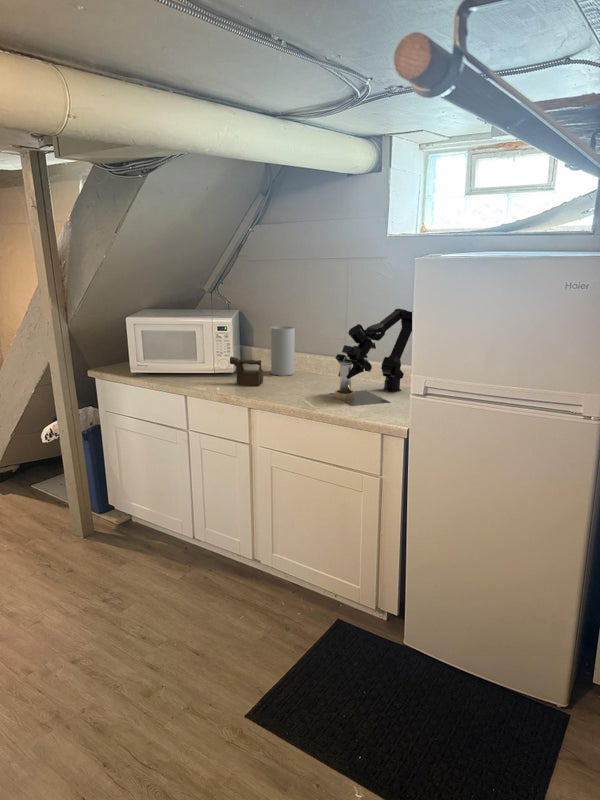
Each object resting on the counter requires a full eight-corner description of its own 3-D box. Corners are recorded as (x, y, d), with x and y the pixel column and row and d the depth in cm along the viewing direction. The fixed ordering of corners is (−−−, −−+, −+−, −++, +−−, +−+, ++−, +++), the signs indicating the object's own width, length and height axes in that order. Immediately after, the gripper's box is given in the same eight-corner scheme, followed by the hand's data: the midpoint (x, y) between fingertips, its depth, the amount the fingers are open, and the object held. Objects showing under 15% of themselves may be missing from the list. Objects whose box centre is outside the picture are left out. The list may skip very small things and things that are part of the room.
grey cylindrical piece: (350, 389, 248) (350, 360, 245) (351, 392, 243) (352, 363, 240) (338, 389, 248) (339, 360, 245) (339, 392, 243) (340, 363, 240)
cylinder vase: (297, 372, 302) (298, 327, 296) (288, 377, 291) (288, 329, 285) (277, 370, 307) (277, 325, 301) (267, 375, 296) (267, 328, 290)
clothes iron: (234, 381, 280) (233, 355, 277) (264, 383, 277) (264, 356, 273) (228, 384, 273) (228, 357, 269) (259, 386, 269) (259, 359, 266)
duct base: (365, 392, 260) (366, 385, 259) (390, 404, 238) (391, 396, 237) (327, 395, 253) (328, 388, 253) (350, 408, 232) (350, 400, 231)
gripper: (338, 336, 250) (319, 363, 246) (368, 341, 235) (348, 369, 231) (351, 351, 256) (332, 378, 252) (380, 357, 242) (361, 385, 238)
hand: (343, 377), depth 243 cm, fingers closed on grey cylindrical piece, 5 cm apart
